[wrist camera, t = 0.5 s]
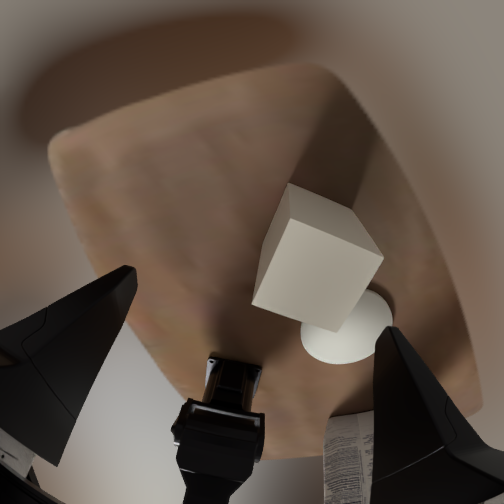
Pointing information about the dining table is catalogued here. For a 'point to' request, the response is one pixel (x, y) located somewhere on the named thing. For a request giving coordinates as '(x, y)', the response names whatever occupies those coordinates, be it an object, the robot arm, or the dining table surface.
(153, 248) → the dining table surface
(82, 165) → the dining table surface
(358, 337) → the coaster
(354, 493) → the juice carton
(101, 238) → the dining table surface
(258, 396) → the dining table surface
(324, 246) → the cover
